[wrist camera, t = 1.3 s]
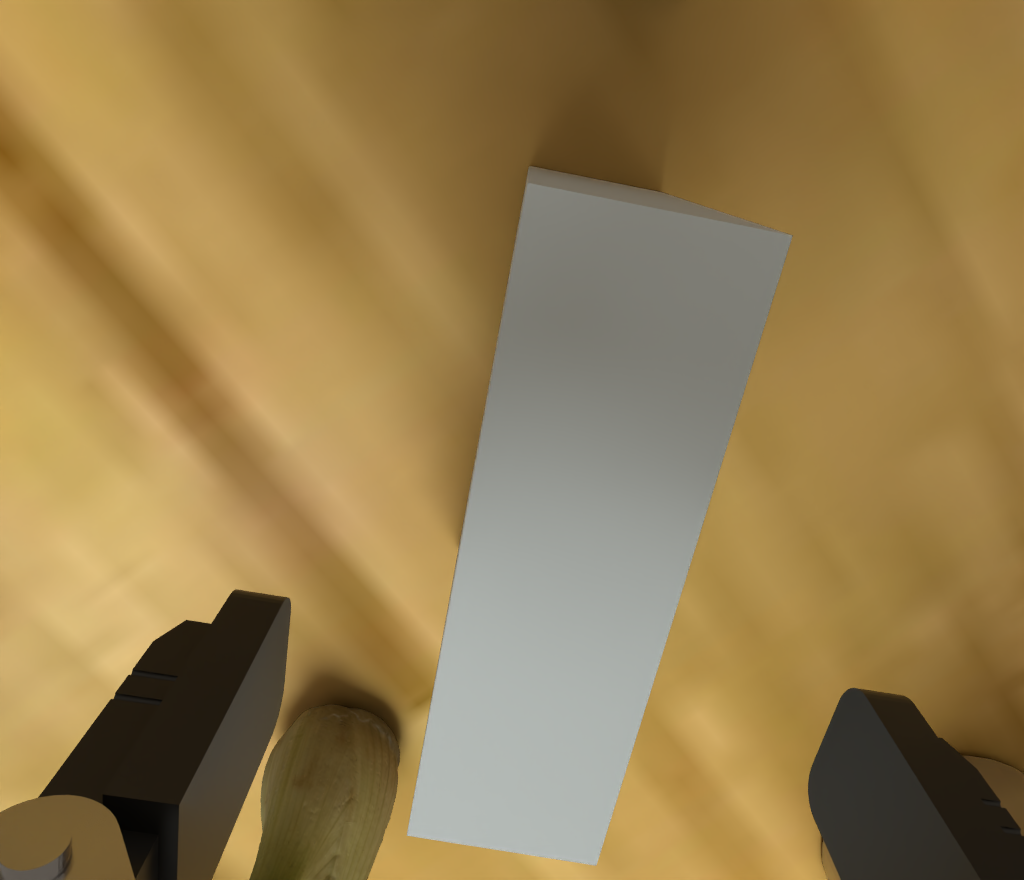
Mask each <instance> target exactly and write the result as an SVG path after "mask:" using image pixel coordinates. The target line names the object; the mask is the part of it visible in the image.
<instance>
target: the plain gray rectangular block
mask: <svg viewBox="0 0 1024 880" xmlns="http://www.w3.org/2000/svg"><path fill="white" fill-rule="evenodd" d="M792 236H793V235H790V234H787V233H784V232H781V231H778V230H774V229H771V228H768V227H765V226H762V225H759V224H756V223H753V222H750V221H747V220H744V219H741V218H738V217H735V216H732V215H729V214H726V213H723V212H720V211H717V210H714V209H711V208H708V207H705V206H702V205H699V204H696V203H693V202H690V201H687V200H684V199H681V198H678V197H675V196H672V195H669V194H666V193H663V192H658V191H653V190H648V189H643V188H638V187H633V186H628V185H623V184H618V183H613V182H608V181H603V180H598V179H593V178H588V177H583V176H578V175H573V174H568V173H563V172H558V171H553V170H548V169H543V168H538V167H533V166H529V169H528V174H527V180H526V185H525V191H524V196H523V201H522V207H521V212H520V218H519V223H518V229H517V234H516V239H515V245H514V250H513V256H512V261H511V267H510V272H509V277H508V283H507V288H506V294H505V299H504V305H503V311H502V316H501V322H500V327H499V333H498V338H497V344H496V349H495V354H494V360H493V365H492V371H491V376H490V382H489V387H488V393H487V398H486V403H485V409H484V414H483V420H482V425H481V431H480V436H479V441H478V446H477V451H476V457H475V462H474V468H473V473H472V479H471V484H470V489H469V495H468V500H467V506H466V511H465V517H464V522H463V527H462V533H461V538H460V544H459V549H458V555H457V560H456V566H455V571H454V577H453V582H452V588H451V594H450V599H449V605H448V610H447V616H446V621H445V627H444V632H443V638H442V643H441V649H440V655H439V660H438V666H437V671H436V677H435V682H434V688H433V693H432V699H431V704H430V710H429V716H428V721H427V727H426V732H425V738H424V743H423V749H422V754H421V760H420V765H419V771H418V777H417V782H416V788H415V793H414V799H413V804H412V810H411V815H410V821H409V826H408V832H407V836H413V837H419V838H426V839H432V840H438V841H445V842H451V843H457V844H463V845H470V846H476V847H482V848H489V849H495V850H501V851H508V852H514V853H520V854H526V855H533V856H539V857H545V858H552V859H558V860H564V861H571V862H577V863H583V864H590V865H597V862H598V859H599V855H600V852H601V849H602V846H603V842H604V839H605V836H606V833H607V830H608V826H609V823H610V820H611V817H612V814H613V810H614V807H615V804H616V801H617V798H618V794H619V791H620V788H621V785H622V782H623V778H624V775H625V772H626V769H627V765H628V762H629V759H630V756H631V753H632V749H633V746H634V743H635V740H636V737H637V733H638V730H639V727H640V724H641V721H642V717H643V714H644V711H645V708H646V705H647V701H648V698H649V695H650V692H651V688H652V685H653V682H654V679H655V676H656V672H657V669H658V666H659V663H660V660H661V656H662V653H663V650H664V647H665V644H666V640H667V637H668V634H669V631H670V628H671V624H672V621H673V618H674V615H675V611H676V608H677V605H678V602H679V599H680V595H681V592H682V589H683V586H684V583H685V579H686V576H687V573H688V570H689V567H690V563H691V560H692V557H693V554H694V551H695V547H696V544H697V541H698V538H699V534H700V531H701V528H702V525H703V522H704V518H705V515H706V512H707V509H708V506H709V502H710V499H711V496H712V493H713V490H714V486H715V483H716V480H717V477H718V474H719V470H720V467H721V464H722V461H723V457H724V454H725V451H726V448H727V445H728V441H729V438H730V435H731V432H732V429H733V425H734V422H735V419H736V416H737V413H738V409H739V406H740V403H741V400H742V397H743V393H744V390H745V387H746V384H747V380H748V377H749V374H750V371H751V368H752V364H753V361H754V358H755V355H756V352H757V348H758V345H759V342H760V339H761V336H762V332H763V329H764V326H765V323H766V320H767V316H768V313H769V310H770V307H771V303H772V300H773V297H774V294H775V291H776V287H777V284H778V281H779V278H780V275H781V271H782V268H783V265H784V262H785V259H786V255H787V252H788V249H789V246H790V243H791V239H792Z"/></svg>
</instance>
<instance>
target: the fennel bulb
mask: <svg viewBox="0 0 1024 880" xmlns="http://www.w3.org/2000/svg"><path fill="white" fill-rule="evenodd" d="M399 762H400V751H399V746H398V743H397V740H396V738H395V736H394V734H393V732H392V731H391V729H390V728H389V726H387V725H386V724H385V722H384V721H383V720H382V719H381V718H379V717H378V716H376V715H374V714H372V713H370V712H368V711H365V710H363V709H359V708H356V709H353V708H346V707H344V706H341V705H336V704H335V705H331V704H328V705H325V706H320V707H313V708H310V709H308V710H306V711H305V712H303V713H302V714H301V715H300V716H299V717H298V718H297V720H296V721H295V722H294V723H293V724H292V726H291V727H290V728H289V729H288V730H287V732H286V733H285V734H284V735H283V736H282V737H281V739H280V740H279V741H278V742H277V744H276V745H275V747H274V749H273V750H272V752H271V754H270V756H269V759H268V762H267V764H266V767H265V771H264V776H263V781H262V788H261V821H262V830H263V833H262V837H261V842H260V845H259V850H258V854H257V858H256V862H255V865H254V868H253V871H252V874H251V877H250V880H367V879H368V876H369V873H370V871H371V868H372V865H373V863H374V860H375V858H376V855H377V852H378V850H379V847H380V844H381V843H382V840H383V836H384V833H385V829H386V828H387V825H388V822H389V820H390V816H391V813H392V809H393V805H394V802H395V798H396V792H397V784H398V772H397V769H398V765H399Z"/></svg>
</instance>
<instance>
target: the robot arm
mask: <svg viewBox="0 0 1024 880" xmlns="http://www.w3.org/2000/svg"><path fill="white" fill-rule="evenodd" d="M290 613H291V602H290V599H289V598H287V597H281V596H274V595H268V594H262V593H255V592H249V591H243V590H234V591H233V592H232V593H231V594H230V596H229V597H228V599H227V600H226V602H225V604H224V605H223V607H222V608H221V610H220V611H219V613H218V614H217V616H216V618H215V619H214V621H213V622H212V624H209V623H202V622H196V621H189V620H186V621H184V622H183V623H181V624H179V625H178V626H176V627H175V628H173V629H172V630H170V631H169V632H167V633H165V634H164V635H162V636H161V637H159V638H158V639H156V640H155V641H153V642H152V644H151V645H150V646H149V648H148V649H147V651H146V652H145V653H144V655H143V656H142V657H141V659H140V660H139V661H138V663H137V664H136V666H135V667H134V668H133V671H132V674H131V675H128V676H127V678H126V679H125V681H124V682H123V683H122V685H121V686H120V687H119V689H118V690H117V691H116V693H115V697H114V699H111V700H110V701H109V702H108V704H107V705H106V706H105V708H104V709H103V710H102V712H101V713H100V715H99V716H98V717H97V719H96V720H95V721H94V723H93V724H92V725H91V727H90V728H89V730H88V731H87V732H86V734H85V735H84V736H83V738H82V739H81V740H80V742H79V743H78V745H77V746H76V747H75V749H74V750H73V751H72V753H71V754H70V755H69V757H68V758H67V759H66V761H65V762H64V764H63V765H62V766H61V768H60V769H59V770H58V772H57V773H56V774H55V776H54V777H53V779H52V780H51V781H50V783H49V784H48V785H47V787H46V788H45V789H44V791H43V792H42V793H41V794H40V796H39V797H38V798H36V799H32V800H28V801H25V802H22V803H20V804H17V805H14V806H12V807H10V808H8V809H6V810H4V811H2V812H0V880H212V878H213V875H214V873H215V870H216V868H217V866H218V863H219V861H220V858H221V856H222V854H223V851H224V849H225V846H226V844H227V842H228V839H229V837H230V835H231V832H232V830H233V827H234V825H235V823H236V820H237V818H238V815H239V813H240V811H241V808H242V806H243V803H244V801H245V799H246V796H247V794H248V791H249V789H250V787H251V784H252V782H253V779H254V777H255V775H256V772H257V770H258V767H259V765H260V763H261V760H262V758H263V755H264V753H265V751H266V748H267V746H268V744H269V741H270V739H271V736H272V734H273V731H274V728H275V725H276V722H277V719H278V715H279V711H280V707H281V702H282V697H283V691H284V682H285V671H286V659H287V648H288V636H289V625H290ZM808 795H809V803H810V808H811V812H812V814H813V817H814V820H815V822H816V824H817V826H818V829H819V831H820V833H821V836H822V838H823V844H822V864H823V867H824V870H825V873H826V876H827V879H828V880H1024V774H1023V773H1022V772H1020V771H1019V770H1017V769H1016V768H1014V767H1012V766H1009V765H1006V764H1003V763H1001V762H998V761H995V760H992V759H986V758H980V757H974V756H962V755H961V754H960V753H958V752H957V751H956V750H955V749H954V748H953V747H952V746H950V745H949V744H948V743H947V742H946V741H945V740H944V739H942V738H938V737H937V736H936V734H935V733H934V732H933V730H932V729H931V727H930V726H929V725H928V723H927V722H926V720H925V719H924V717H923V716H922V715H921V713H920V712H919V710H918V709H917V708H916V706H915V705H914V703H913V702H912V701H911V700H910V699H909V698H907V697H905V696H901V695H895V694H889V693H882V692H876V691H870V690H863V689H857V688H850V689H848V690H847V691H846V692H844V694H843V695H842V696H841V698H840V700H839V703H838V705H837V707H836V710H835V712H834V715H833V717H832V719H831V722H830V724H829V726H828V729H827V731H826V734H825V736H824V738H823V741H822V743H821V746H820V748H819V750H818V753H817V755H816V757H815V760H814V762H813V765H812V767H811V771H810V775H809V783H808Z"/></svg>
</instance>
